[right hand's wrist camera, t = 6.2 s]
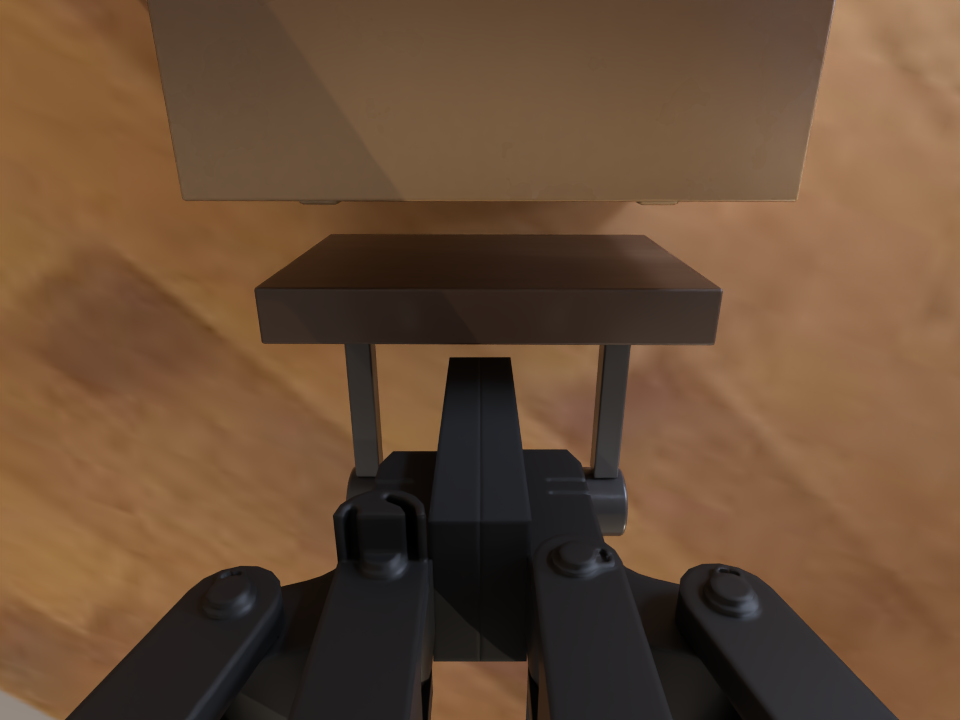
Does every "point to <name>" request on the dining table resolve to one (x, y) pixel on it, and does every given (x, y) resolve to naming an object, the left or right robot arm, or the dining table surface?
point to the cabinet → (490, 98)
